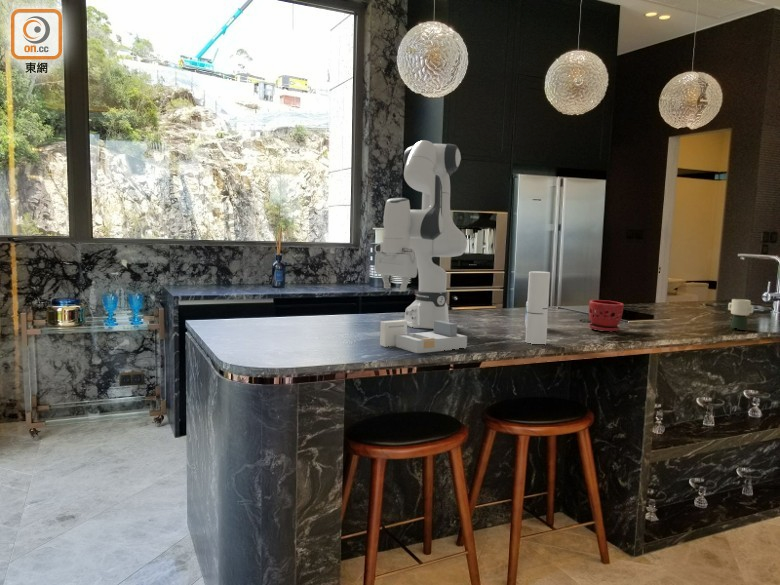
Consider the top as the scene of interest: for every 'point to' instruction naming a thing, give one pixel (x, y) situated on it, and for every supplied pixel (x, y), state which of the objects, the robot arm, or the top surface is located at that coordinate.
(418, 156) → the robot arm
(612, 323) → the plant pot
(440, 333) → the rack
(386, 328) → the panel
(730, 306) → the character mug
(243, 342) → the top surface
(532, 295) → the white tall box
